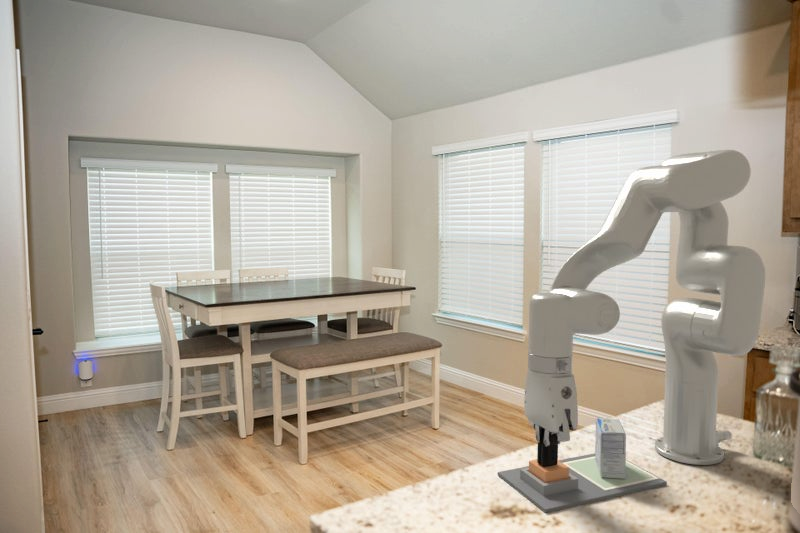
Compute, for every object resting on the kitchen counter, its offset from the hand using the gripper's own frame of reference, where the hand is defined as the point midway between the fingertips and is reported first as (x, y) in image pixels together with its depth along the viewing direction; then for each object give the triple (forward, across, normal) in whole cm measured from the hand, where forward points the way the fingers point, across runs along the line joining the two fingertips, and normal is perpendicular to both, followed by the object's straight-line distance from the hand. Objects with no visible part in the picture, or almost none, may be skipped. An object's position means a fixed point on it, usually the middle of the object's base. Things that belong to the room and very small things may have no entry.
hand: (547, 464), depth 105 cm
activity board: (+4, 0, -7) cm, 9 cm away
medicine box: (+4, 0, -14) cm, 15 cm away
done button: (+2, 0, 0) cm, 3 cm away
